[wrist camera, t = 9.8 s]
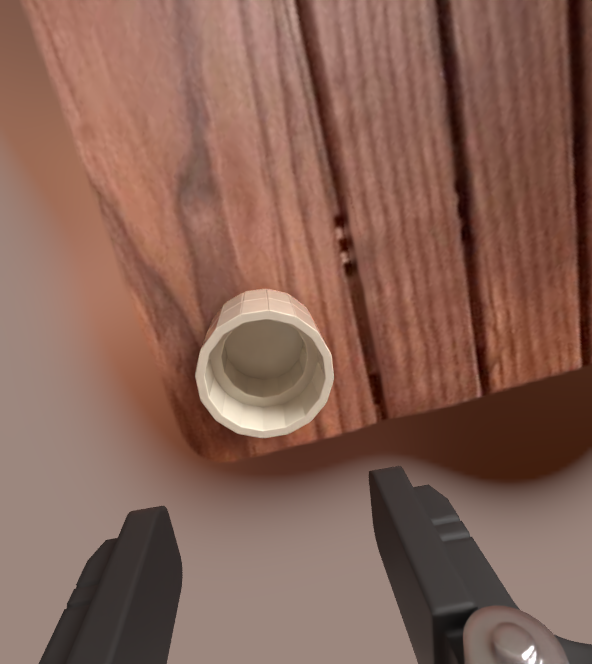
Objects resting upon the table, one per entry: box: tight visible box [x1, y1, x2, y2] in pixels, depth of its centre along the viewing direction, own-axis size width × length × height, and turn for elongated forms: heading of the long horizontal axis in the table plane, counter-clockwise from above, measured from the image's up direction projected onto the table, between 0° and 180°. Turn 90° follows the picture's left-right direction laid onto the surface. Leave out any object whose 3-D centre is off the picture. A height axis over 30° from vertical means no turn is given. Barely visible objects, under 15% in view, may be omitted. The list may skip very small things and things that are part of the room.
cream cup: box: [195, 289, 334, 438], centre depth 20 cm, size 6×6×5 cm
